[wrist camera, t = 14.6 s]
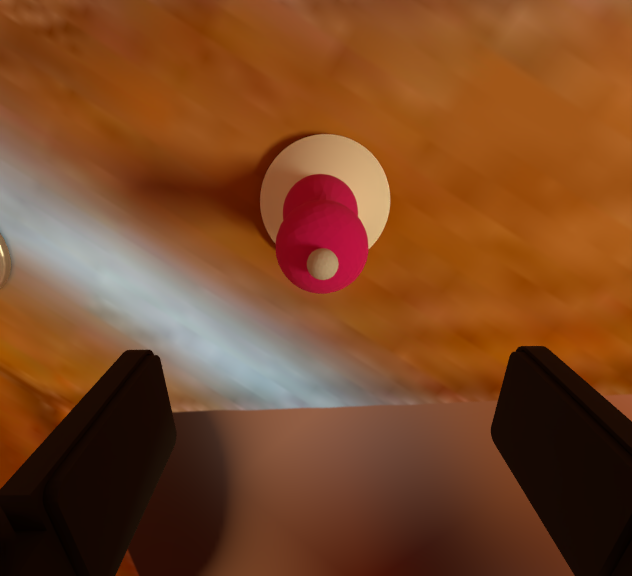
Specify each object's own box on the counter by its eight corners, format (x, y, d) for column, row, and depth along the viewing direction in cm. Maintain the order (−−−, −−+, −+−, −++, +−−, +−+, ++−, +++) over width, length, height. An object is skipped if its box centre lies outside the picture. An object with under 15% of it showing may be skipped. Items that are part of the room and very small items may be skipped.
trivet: (286, 276, 41) (285, 280, 40) (242, 159, 36) (240, 159, 35) (399, 243, 40) (402, 246, 38) (371, 115, 34) (373, 114, 33)
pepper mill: (308, 250, 38) (301, 348, 20) (273, 193, 36) (228, 246, 18) (365, 217, 37) (412, 291, 19) (332, 156, 35) (350, 172, 16)
